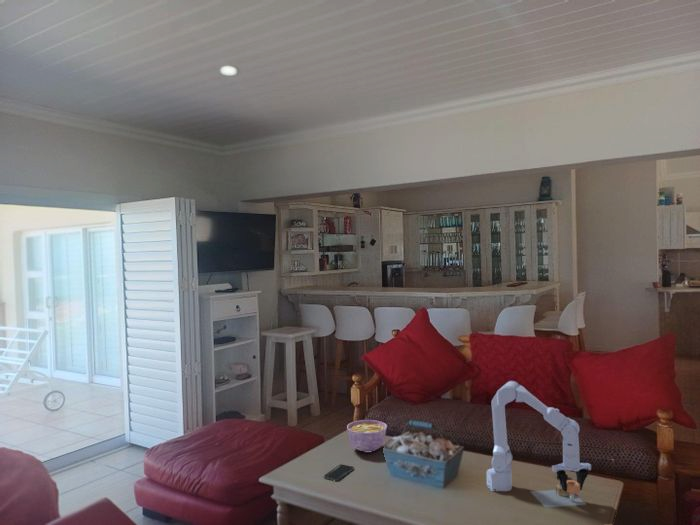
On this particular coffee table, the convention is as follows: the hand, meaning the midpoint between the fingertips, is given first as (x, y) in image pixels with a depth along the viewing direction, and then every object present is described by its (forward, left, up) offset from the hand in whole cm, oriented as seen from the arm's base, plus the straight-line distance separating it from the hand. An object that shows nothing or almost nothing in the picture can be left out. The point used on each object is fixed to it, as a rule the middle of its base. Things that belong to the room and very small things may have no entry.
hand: (571, 489), depth 195 cm
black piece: (+6, +20, -7) cm, 22 cm away
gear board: (-4, +3, -6) cm, 8 cm away
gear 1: (0, +6, -4) cm, 8 cm away
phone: (-85, +42, -6) cm, 95 cm away
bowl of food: (-69, +68, -6) cm, 97 cm away
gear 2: (0, 0, 0) cm, 0 cm away
